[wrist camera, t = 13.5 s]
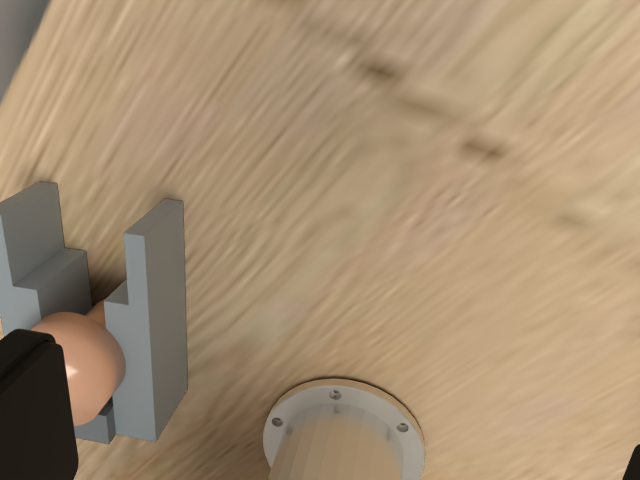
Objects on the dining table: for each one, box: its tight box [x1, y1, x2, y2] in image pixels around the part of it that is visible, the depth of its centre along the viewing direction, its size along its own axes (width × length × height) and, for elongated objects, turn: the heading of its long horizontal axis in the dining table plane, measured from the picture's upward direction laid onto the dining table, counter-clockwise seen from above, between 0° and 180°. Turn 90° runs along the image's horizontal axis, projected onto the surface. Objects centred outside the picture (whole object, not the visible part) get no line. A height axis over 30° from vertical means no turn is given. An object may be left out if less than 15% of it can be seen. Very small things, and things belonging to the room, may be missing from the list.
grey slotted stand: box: [0, 182, 188, 444], centre depth 41 cm, size 16×11×7 cm, turn 176°
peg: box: [30, 299, 126, 426], centre depth 41 cm, size 7×7×8 cm
